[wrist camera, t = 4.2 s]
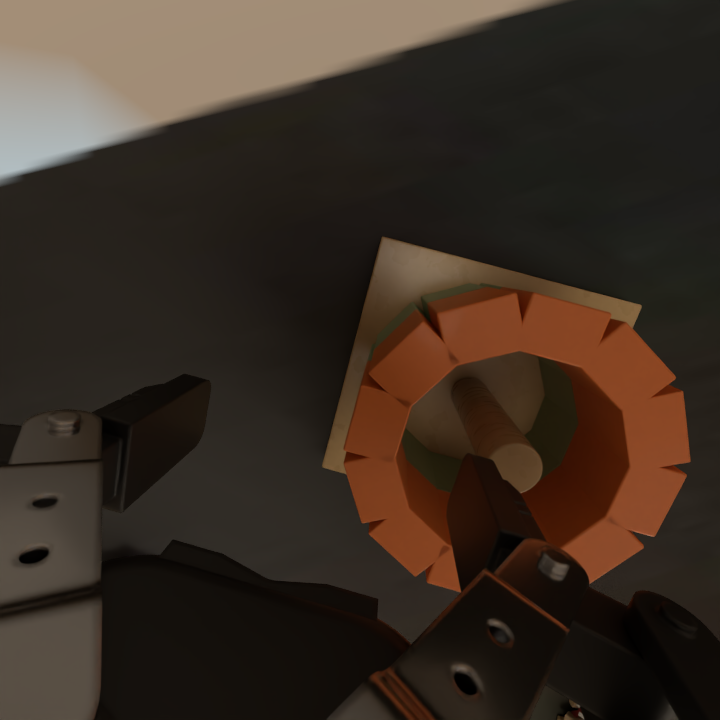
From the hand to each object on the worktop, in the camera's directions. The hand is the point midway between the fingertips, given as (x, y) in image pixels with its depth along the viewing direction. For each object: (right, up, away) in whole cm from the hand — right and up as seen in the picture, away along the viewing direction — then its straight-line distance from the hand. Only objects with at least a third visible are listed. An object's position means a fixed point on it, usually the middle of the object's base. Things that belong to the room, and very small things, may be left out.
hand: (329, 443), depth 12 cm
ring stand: (+7, +1, +12) cm, 14 cm away
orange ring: (+7, 0, +6) cm, 9 cm away
